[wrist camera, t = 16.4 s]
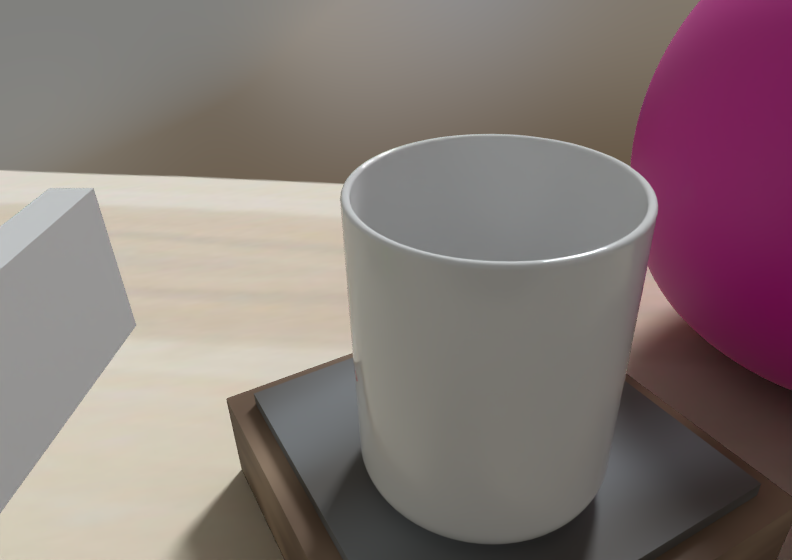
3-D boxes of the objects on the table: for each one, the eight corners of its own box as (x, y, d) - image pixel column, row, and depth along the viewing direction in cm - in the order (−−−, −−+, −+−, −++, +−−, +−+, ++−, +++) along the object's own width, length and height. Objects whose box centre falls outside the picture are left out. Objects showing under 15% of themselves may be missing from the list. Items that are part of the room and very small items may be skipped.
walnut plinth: (767, 579, 26) (805, 491, 23) (413, 830, 20) (410, 749, 17) (513, 358, 38) (519, 283, 35) (241, 468, 32) (223, 388, 29)
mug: (622, 578, 21) (696, 272, 15) (341, 553, 22) (307, 258, 16) (579, 343, 31) (614, 105, 25) (389, 334, 32) (379, 104, 26)
